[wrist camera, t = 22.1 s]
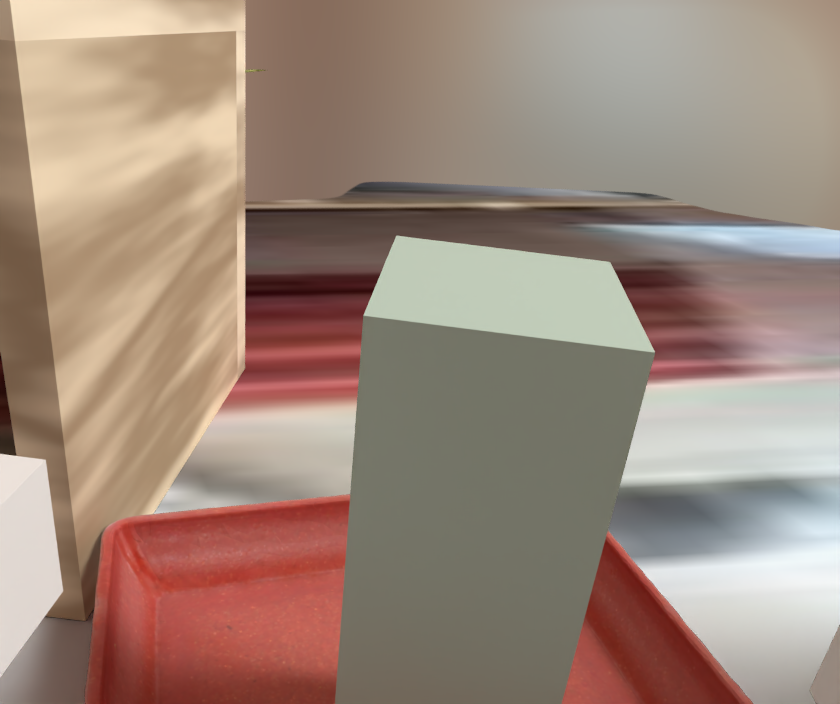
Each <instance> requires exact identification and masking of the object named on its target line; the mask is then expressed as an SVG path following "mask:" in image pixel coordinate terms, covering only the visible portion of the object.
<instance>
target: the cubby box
mask: <svg viewBox="0 0 840 704" xmlns="http://www.w3.org/2000/svg"><path fill="white" fill-rule="evenodd" d="M0 352H1V359H2V365H3V372H4V378H5V384H6V391H7V397H8V404H9V410H10V417H11V423H12V430H13V436H14V442H15V449H16V455H17V456H20V457H28V458H36V459H44V460H46V466H47V473H48V481H49V488H50V496H51V503H52V511H53V518H54V526H55V533H56V541H57V549H58V556H59V564H60V571H61V579H62V586H63V592H62V593H61V595H60V596H59V598H58V599H57V600H56V602H55V603H54V604H53V606H52V607H51V609H50V610H49V611H48V613H47V614H46V615H45V616H48V617H56V618H64V619H73V620H81V621H86V620H87V618H88V616H89V615H90V613H91V612H92V610H93V609H94V607H95V593H96V582H97V576H98V566H99V559H100V547H101V537H102V534H103V532H104V530H105V529H106V527H107V526H109V525H110V524H112V523H114V522H115V521H117V520H120V519H123V518H127V517H131V516H139V515H148V514H153V513H154V512H155V510H156V509H157V507H158V505H159V504H160V502H161V501H162V499H163V498H164V496H165V494H166V493H167V491H168V490H169V488H170V486H171V485H172V483H173V482H174V480H175V478H176V477H177V475H178V474H179V472H180V471H181V469H182V467H183V466H184V464H185V463H186V461H187V459H188V458H189V456H190V455H191V453H192V452H193V450H194V448H195V447H196V445H197V444H198V442H199V440H200V439H201V437H202V436H203V434H204V432H205V431H206V429H207V428H208V426H209V425H210V423H211V421H212V420H213V418H214V417H215V415H216V413H217V412H218V410H219V409H220V407H221V406H222V404H223V402H224V401H225V399H226V398H227V396H228V394H229V393H230V391H231V390H232V388H233V386H234V385H235V383H236V382H237V380H238V379H239V377H240V375H241V374H242V372H243V371H244V369H245V0H0Z"/></svg>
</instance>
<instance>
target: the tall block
mask: <svg viewBox="0 0 840 704" xmlns="http://www.w3.org/2000/svg"><path fill="white" fill-rule="evenodd" d="M654 355H655V351H654V349H653V347H652V345H651V343H650V341H649V339H648V337H647V335H646V333H645V331H644V329H643V327H642V325H641V323H640V321H639V319H638V317H637V315H636V313H635V311H634V309H633V307H632V305H631V303H630V301H629V299H628V297H627V295H626V293H625V291H624V289H623V287H622V285H621V283H620V281H619V279H618V277H617V275H616V273H615V271H614V269H613V267H612V265H611V263H610V262H605V261H597V260H589V259H581V258H573V257H564V256H556V255H548V254H540V253H532V252H524V251H516V250H508V249H499V248H491V247H483V246H475V245H467V244H459V243H451V242H443V241H434V240H426V239H418V238H410V237H402V236H396V238H395V241H394V243H393V245H392V248H391V250H390V253H389V255H388V257H387V260H386V262H385V265H384V267H383V270H382V272H381V274H380V277H379V279H378V282H377V284H376V287H375V289H374V291H373V294H372V296H371V299H370V301H369V304H368V306H367V308H366V311H365V313H364V316H363V330H362V343H361V357H360V370H359V384H358V397H357V411H356V424H355V438H354V452H353V465H352V479H351V492H350V506H349V519H348V533H347V546H346V560H345V573H344V587H343V600H342V614H341V627H340V641H339V654H338V668H337V681H336V695H335V704H562V700H563V697H564V693H565V689H566V685H567V682H568V678H569V674H570V670H571V667H572V663H573V659H574V655H575V652H576V648H577V644H578V640H579V637H580V633H581V629H582V625H583V622H584V618H585V614H586V610H587V607H588V603H589V599H590V595H591V592H592V588H593V584H594V580H595V577H596V573H597V569H598V565H599V561H600V558H601V554H602V550H603V546H604V543H605V539H606V535H607V531H608V528H609V524H610V520H611V516H612V513H613V509H614V505H615V501H616V498H617V494H618V490H619V486H620V483H621V479H622V475H623V471H624V468H625V464H626V460H627V456H628V453H629V449H630V445H631V441H632V438H633V434H634V430H635V426H636V422H637V419H638V415H639V411H640V407H641V404H642V400H643V396H644V392H645V389H646V385H647V381H648V377H649V374H650V370H651V366H652V362H653V359H654Z"/></svg>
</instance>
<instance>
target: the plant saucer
mask: <svg viewBox="0 0 840 704" xmlns="http://www.w3.org/2000/svg"><path fill="white" fill-rule="evenodd" d="M349 506H350V494H347V495H338V496H331V497H317V498H307V499H301V500H286V501H277V502H268V503H259V504H249V505H239V506H229V507H220V508H207V509H198V510H189V511H179V512H169V513H160V514H148V515H139V516H131V517H127V518H123V519H120V520H117V521H115V522H114V523H112V524H110V525H109V526H107V527H106V529H105V530H104V532H103V534H102V537H101V547H100V559H99V566H98V576H97V582H96V593H95V607H94V614H93V624H92V635H91V643H90V656H89V663H88V673H87V681H86V687H85V704H335V695H336V681H337V668H338V654H339V641H340V627H341V614H342V600H343V587H344V573H345V560H346V546H347V533H348V519H349ZM562 704H753V703H752V701H751V700H750V699H749V698H748V697H747V696H746V695H745V693H744V692H743V691H742V689H741V688H740V687H739V686H738V685H737V684H736V683H735V682H734V681H733V680H732V679H731V678H730V676H729V675H728V674H727V672H726V671H725V670H724V669H723V667H722V666H721V665H720V664H719V663H718V661H717V660H716V659H715V658H714V657H713V656H712V654H711V653H710V652H709V650H708V649H707V648H706V646H705V645H704V644H703V643H702V641H701V640H700V639H699V638H698V637H697V636H696V635H695V634H694V633H693V632H692V631H691V630H690V628H689V627H688V626H687V625H686V624H685V622H684V621H683V620H682V618H681V617H680V616H679V614H678V613H677V611H676V610H675V609H674V608H673V607H672V606H671V604H670V603H669V602H668V601H667V600H666V599H665V598H664V596H663V595H662V594H661V593H660V592H659V591H658V590H657V588H656V587H655V586H654V585H653V583H652V582H651V581H650V580H649V579H648V578H647V577H646V576H645V574H644V573H643V571H642V570H641V569H640V568H639V567H638V566H637V565H636V564H635V562H634V561H633V560H632V559H631V558H630V556H629V555H628V554H627V553H626V551H625V550H624V548H623V547H622V546H621V545H620V544H619V543H618V542H617V541H616V540H615V538H614V537H613V536H612V535H611V534H610V532H609V531H607V535H606V539H605V543H604V546H603V550H602V554H601V558H600V561H599V565H598V569H597V573H596V577H595V580H594V584H593V588H592V592H591V595H590V599H589V603H588V607H587V610H586V614H585V618H584V622H583V625H582V629H581V633H580V637H579V640H578V644H577V648H576V652H575V655H574V659H573V663H572V667H571V670H570V674H569V678H568V682H567V685H566V689H565V693H564V697H563V700H562Z"/></svg>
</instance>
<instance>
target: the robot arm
mask: <svg viewBox="0 0 840 704" xmlns="http://www.w3.org/2000/svg"><path fill="white" fill-rule="evenodd" d="M62 592H63V586H62V579H61V571H60V564H59V556H58V549H57V541H56V533H55V526H54V518H53V511H52V503H51V496H50V488H49V481H48V473H47V466H46V460H44V459H36V458H28V457H20V456H13V455H5V454H0V677H1V676H2V675H3V673H4V672H5V670H6V669H7V668H8V666H9V665H10V664H11V662H12V661H13V659H14V658H15V657H16V655H17V654H18V653H19V651H20V650H21V648H22V647H23V646H24V644H25V643H26V642H27V640H28V639H29V637H30V636H31V635H32V633H33V632H34V631H35V629H36V628H37V626H38V625H39V624H40V622H41V621H42V620H43V618H44V617H45V615H46V614H47V613H48V611H49V610H50V609H51V607H52V606H53V604H54V603H55V602H56V600H57V599H58V598H59V596H60V595H61V593H62ZM810 692H811V694H812V696H813V698H814V700H815V702H816V704H840V625H839V627H838V630H837V632H836V634H835V636H834V638H833V640H832V643H831V645H830V647H829V649H828V651H827V653H826V656H825V658H824V660H823V662H822V664H821V666H820V669H819V671H818V673H817V675H816V677H815V679H814V682H813V684H812V686H811V688H810Z"/></svg>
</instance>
